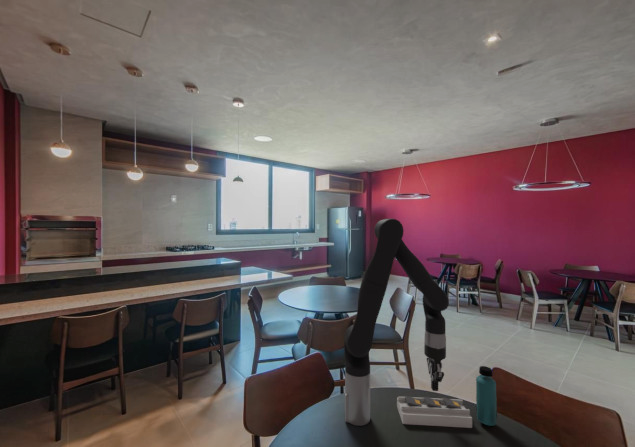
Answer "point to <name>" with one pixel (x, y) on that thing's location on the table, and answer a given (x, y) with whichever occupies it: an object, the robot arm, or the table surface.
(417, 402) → the left rocker
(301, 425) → the table surface
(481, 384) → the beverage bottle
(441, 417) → the power strip
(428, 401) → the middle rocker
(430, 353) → the robot arm
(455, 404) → the right rocker
